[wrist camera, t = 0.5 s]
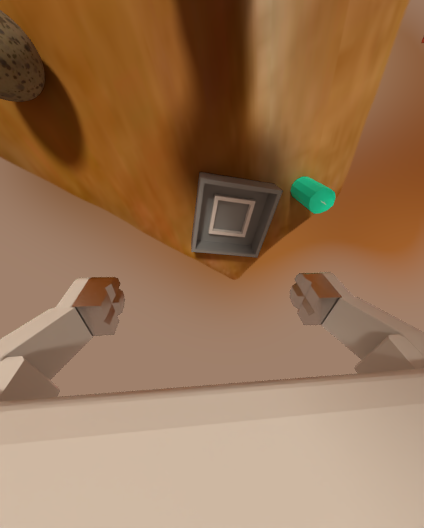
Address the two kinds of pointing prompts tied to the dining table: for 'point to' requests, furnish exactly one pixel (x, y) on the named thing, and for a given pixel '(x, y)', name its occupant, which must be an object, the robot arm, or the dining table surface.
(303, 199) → the candle
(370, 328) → the robot arm
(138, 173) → the dining table surface
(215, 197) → the walled box
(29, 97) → the decorative egg
